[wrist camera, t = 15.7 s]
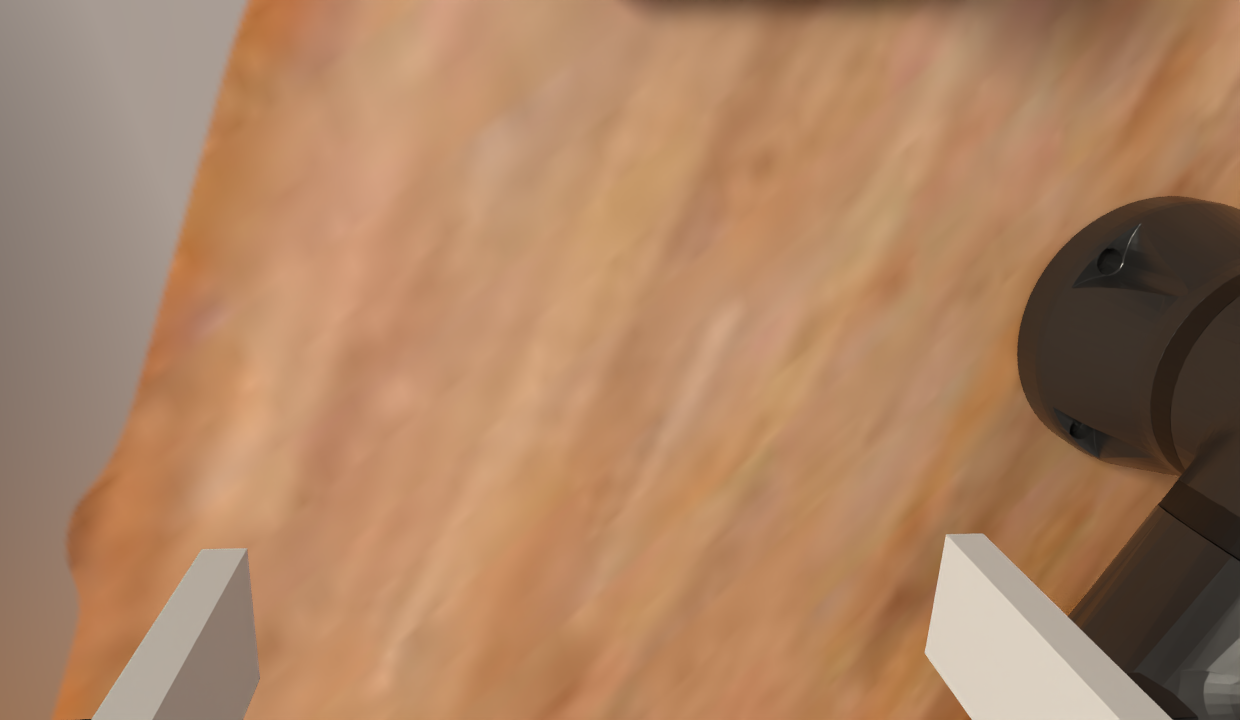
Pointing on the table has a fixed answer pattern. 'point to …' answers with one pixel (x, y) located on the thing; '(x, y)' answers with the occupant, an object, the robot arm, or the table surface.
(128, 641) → the table surface
